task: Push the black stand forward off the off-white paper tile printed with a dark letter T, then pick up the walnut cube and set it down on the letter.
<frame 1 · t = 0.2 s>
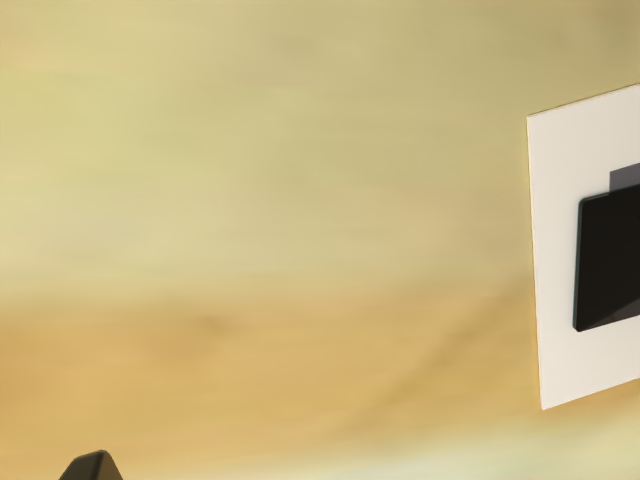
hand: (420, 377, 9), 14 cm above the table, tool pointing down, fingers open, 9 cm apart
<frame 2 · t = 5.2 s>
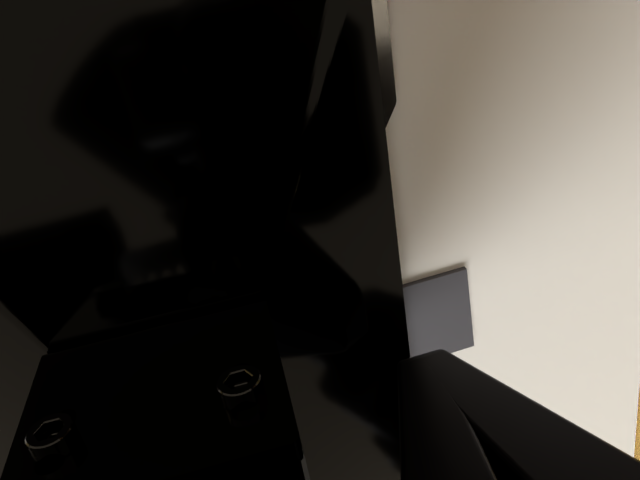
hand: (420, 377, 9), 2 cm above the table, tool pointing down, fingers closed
black stand: (195, 383, 10), on the table, touching gripper, letter tile
letter tile: (202, 377, 10), on the table
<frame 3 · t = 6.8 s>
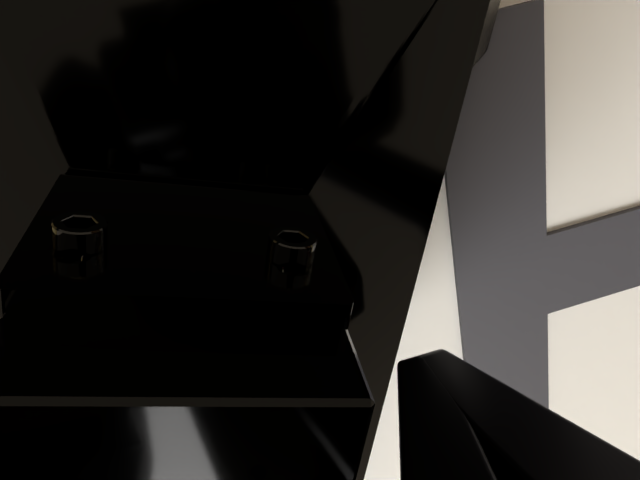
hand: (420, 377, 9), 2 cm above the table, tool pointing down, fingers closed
black stand: (182, 280, 9), on the table, touching gripper, letter tile
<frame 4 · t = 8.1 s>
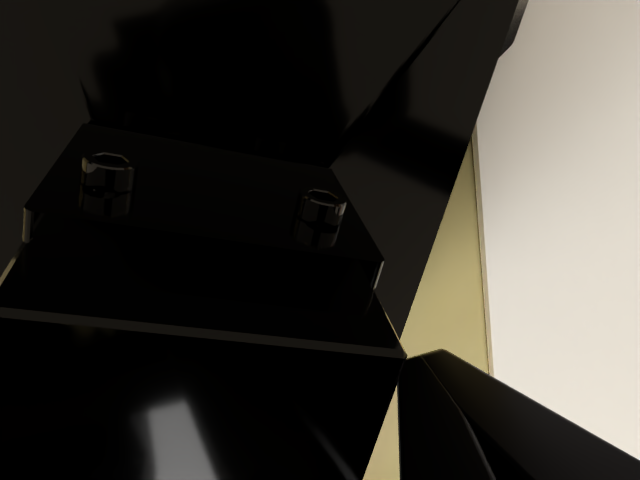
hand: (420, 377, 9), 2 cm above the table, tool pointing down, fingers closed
black stand: (189, 252, 9), on the table, touching gripper, letter tile
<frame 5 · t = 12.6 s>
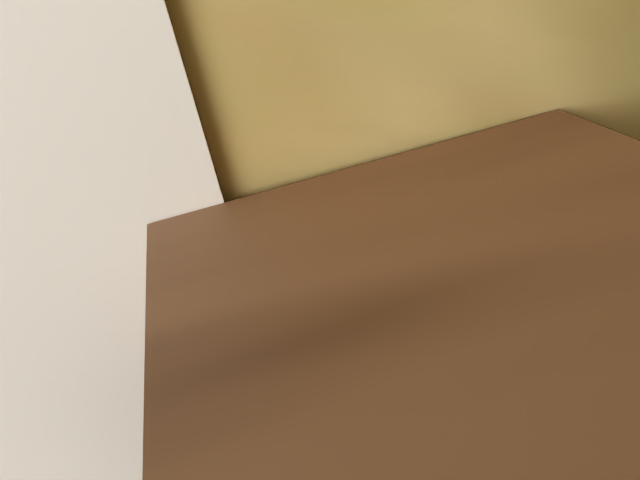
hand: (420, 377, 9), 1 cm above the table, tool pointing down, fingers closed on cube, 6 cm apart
cube: (391, 335, 10), on the table, touching gripper, letter tile
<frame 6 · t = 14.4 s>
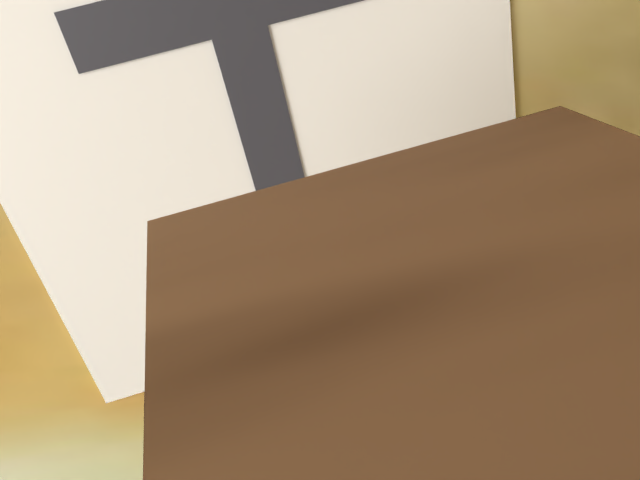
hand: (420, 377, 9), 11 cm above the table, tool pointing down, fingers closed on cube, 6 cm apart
cube: (392, 332, 10), point 10 cm above the table, touching gripper
letter tile: (265, 131, 18), on the table
when the fingers open (3 cm above the table, at t = 16.5 s): cube drops 2 cm, resting on letter tile.
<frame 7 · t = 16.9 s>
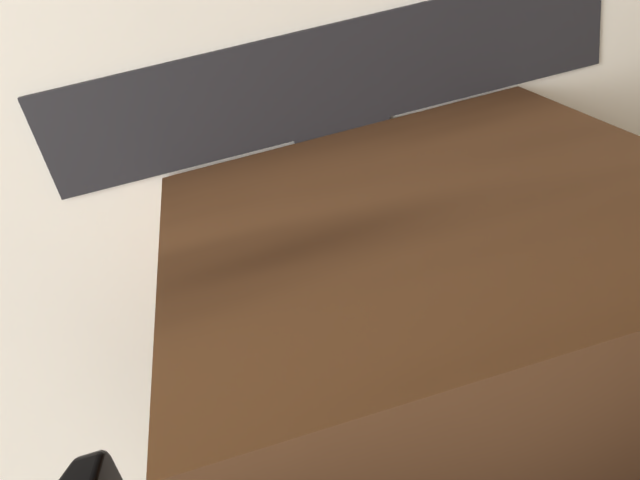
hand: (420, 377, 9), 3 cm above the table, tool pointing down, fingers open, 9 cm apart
cube: (372, 284, 11), resting on letter tile
letter tile: (365, 275, 11), on the table
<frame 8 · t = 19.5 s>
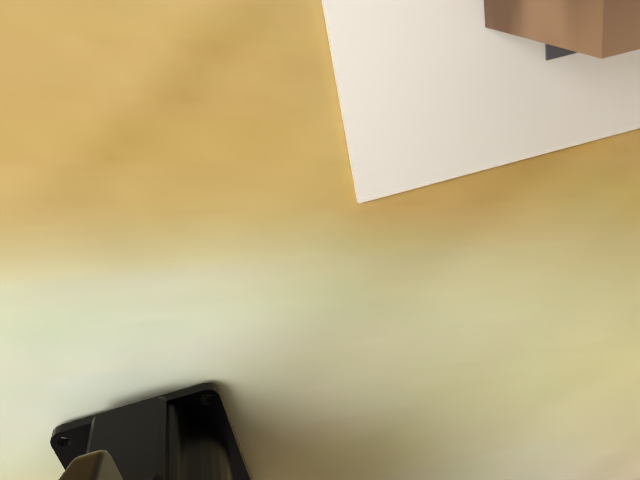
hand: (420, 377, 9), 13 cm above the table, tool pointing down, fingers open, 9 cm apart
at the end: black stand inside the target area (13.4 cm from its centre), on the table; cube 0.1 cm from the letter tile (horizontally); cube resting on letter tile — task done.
